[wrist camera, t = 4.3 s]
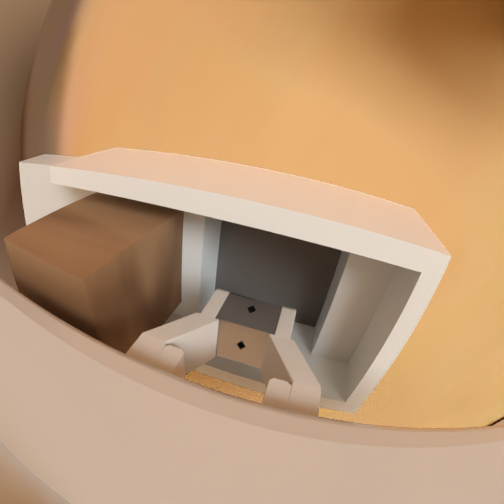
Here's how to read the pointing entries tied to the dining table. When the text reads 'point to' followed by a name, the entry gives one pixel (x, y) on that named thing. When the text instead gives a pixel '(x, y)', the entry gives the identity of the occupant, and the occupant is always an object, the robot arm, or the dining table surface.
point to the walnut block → (103, 266)
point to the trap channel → (274, 254)
